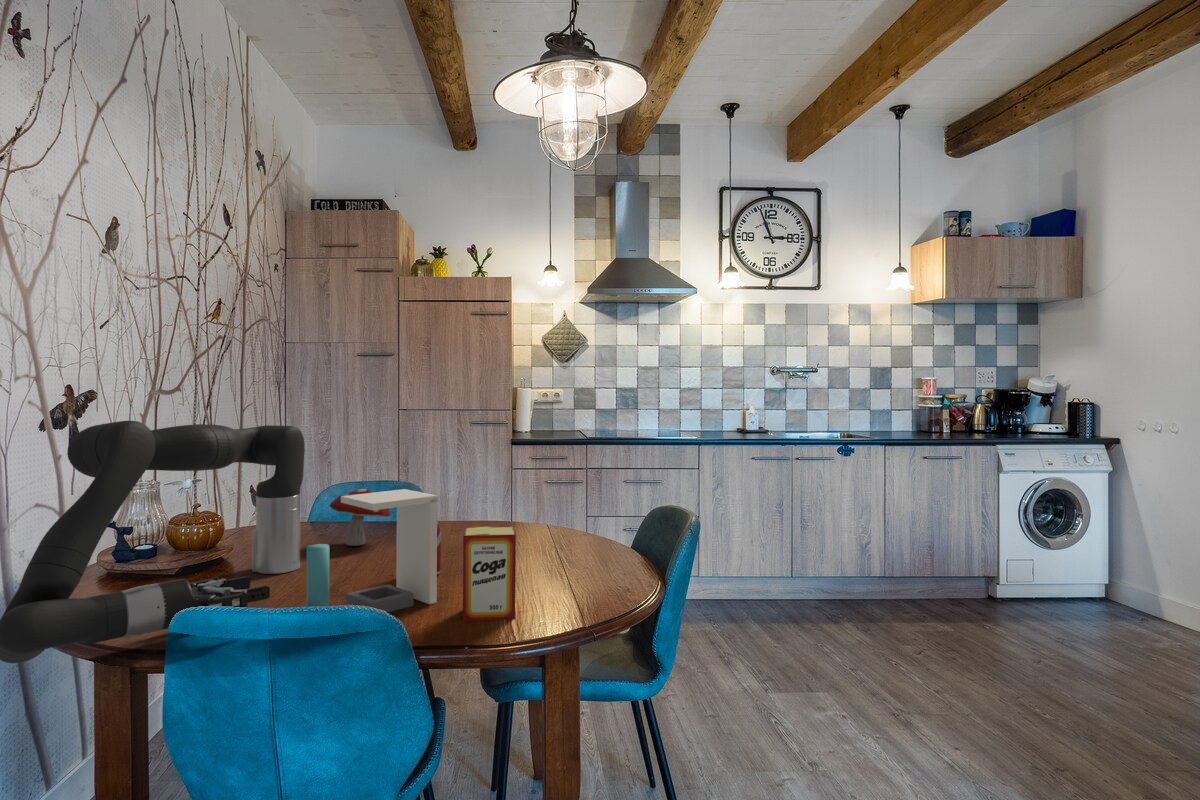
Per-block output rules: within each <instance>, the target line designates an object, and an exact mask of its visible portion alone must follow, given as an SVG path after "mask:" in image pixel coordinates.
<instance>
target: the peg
mask: <svg viewBox="0 0 1200 800" xmlns="http://www.w3.org/2000/svg"><path fill="white" fill-rule="evenodd" d="M319 605H329V606H330V545H329V544H327V543H316V544H310V545H308V546H307V547H306V607H307V606H319Z"/></svg>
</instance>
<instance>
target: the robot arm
mask: <svg viewBox="0 0 1200 800" xmlns="http://www.w3.org/2000/svg"><path fill="white" fill-rule="evenodd" d="M304 438H305V437H304V434H303V432H302V431H301V430H300V428H299V427H297V426H294V425H272V424H267V425H259V426H253V427H247V428H231V427H230V426H227V425H219V424H202V423H201V424H197V423H196V424H184V425H183V424H182V425H175V426H169V427H164V428H157V429H152V430H151V429H150V428H149V427H148V426H147V425H146V424H144V423H142V422H140V421H136V420H122V421H121V420H120V421H114V422H112V421H111V422H107V423H102V424H97V425H96V424H95V425H91V426H89V427H87V428H84V429H82V430H80V432H78V433H77V434H75V436H74V437H73V438H71V440H70V442H69V443H68V447H67V454H66V455H67V459H68V461H69V464H71V466H73V468H74V469H75V470H76V471H77V472H80V473H81V474H83V475H85V476H87V477H91V478H94V479H93V480H92V482H91V483H90V484H89V485H88V488H87V489H86V490H84V492H83V494H82V495H81V496H79V498H78V499H77V500H76V501H75V502H74V503H73V504H72V505H71V506H70V507H69V508H68V509H67V510H66V511H65V512H64V513H63V514H62V515H61V516H60V517H59V518H58V519H57V520H56V521H55V522H54V523H53V525H52V526H51V527H50V528H49V529H48V530H47V531H46V533H45V534H44V536H43V537H42V539H41V540H40V542H39V544H38V546H37V547H36V549H35V552H34V553H33V555H32V557H31V559H30V561H29V563H28V565H27V566H26V569H25V571H24V573H23V575H22V578H21V581H20V583H19V586H18V588H17V590H16V592H15V594H14V595H13V597H12V599H11V600H10V602H9V604H8V605H7V607H6V609H5V611H4V612H3V614H2V616H1V617H0V661H1V662H4V663H8V664H21V663H26V662H27V661H28V662H29V661H31V660H32V659H35V658H37V657H38V656H39V655H40V654H42V653H43V652H44V651H45V650H47V649H51V648H54V647H60V646H65V645H71V644H74V643H82V644H95V643H102V642H106V641H110V640H111V641H112V640H115V639H120V638H123V637H130V636H131V637H132V636H139V635H146V634H150V633H154V632H158V631H159V632H160V631H163V630H168V629H169V628H168V627H169V624H170V622H171V620H172V618H173V617H174V615H175V614H176V613H178V612H179V611H181V610H183V609H186V608H190V607H198V606H233V607H247V608H249V607H248V603H253V602H258V601H263V600H264V601H265V600H268V599H269V598H270V596H271V594H270V593H271V592H270V591H271V589H270V586H269V585H261V586H257V587H256V586H255V587H252V588H251V577H249V576H247V575H246V576H245V575H244V576H240V577H235V578H234V577H233V578H229V579H226V578H221V579H220V577H217V576H215V577H212V578H207V579H202V580H196V581H191V582H189V581H188V580H187V579H186V578H179V579H173V580H168V581H167V580H166V581H162V582H157V583H151V584H150V583H149V584H144V585H139V586H136V587H135V586H134V587H131V588H128V589H125V590H119V591H116V592H109V593H102V594H98V595H94V596H90V597H89V596H88V597H83V598H82V597H81V598H70V596H71V595H72V594H73V593H74V591H75V590H76V589H77V586H78V585H79V584H80V581H81V580H82V578H83V576H84V574H85V572H86V569H87V567H88V566H89V563H90V561H91V559H92V556H93V554H94V552H95V550H96V548H97V545H98V544H99V542H100V540H101V539H102V537H103V536H104V533H105V531H106V529H107V528H108V526H109V525H110V523H111V521H112V520H113V519H114V517H115V516H116V514H117V513H118V511H119V510H120V508H121V507H122V505H124V502H125V501H126V500H127V498H128V497H129V495H130V494H131V492H132V490H133V489H134V487H135V486H136V485H137V484H138V482H139V481H140V479H141V478H142V476H143V474H144V473H146V471H168V472H169V471H170V472H190V471H192V472H197V471H198V472H199V471H200V472H201V471H211V470H212V471H214V470H219V469H223V468H226V467H228V466H230V465H232V464H235V463H244V464H245V463H246V464H256V465H257V464H258V465H262V466H275V467H274V468H275V469H274V474H273V476H271V477H270V478H268V479H266V480H264V481H263V480H262V481H261V482H259V483H257V485H256V488H255V489H256V491H255V493H256V495H255V496H256V501H255V503H256V505H255V507H256V510H255V513H256V514H255V515H256V517H255V518H256V522H255V523H256V527H255V528H254V529H252V530H251V543H252V544H251V550H252V551H251V557H252V558H251V571H252V572H256V573H259V574H266V575H274V574H275V575H276V574H284V573H289V572H293V571H297V570H298V569H300V568H301V488H302V484H303V480H304V467H305V465H304V464H305V451H306V449H305V447H306V444H305V439H304ZM236 599H239V600H236Z"/></svg>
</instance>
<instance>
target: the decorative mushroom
mask: <svg viewBox="0 0 1200 800" xmlns="http://www.w3.org/2000/svg"><path fill="white" fill-rule="evenodd" d="M366 493H374V492H373V491H371V490H369V489H367V488H362V489H356V490H353V491H349V492H346V493H344V494H340V495H339V496H337V497H336V498H335V499H333V500H332V501H331V502H330V504H329V507H330V508H331V509H332V510H335V511H336V512H339V513H347V514H350V515H352V517H351V520H350V521H349V523H348V524H347V529H346V533H345V545H347V546H351V547H358V546H362V545H364V544H366V539H367V538H366V530H365V527H364V518H365V517H371V518H372V517H374V518H375V517H376V518H389V517H391V516H392V512H391V508H387V509H380V510H369V509H365V508H361V507H357V506H353V505H349V504H345V503H341V496H348V495H357V494H366Z"/></svg>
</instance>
